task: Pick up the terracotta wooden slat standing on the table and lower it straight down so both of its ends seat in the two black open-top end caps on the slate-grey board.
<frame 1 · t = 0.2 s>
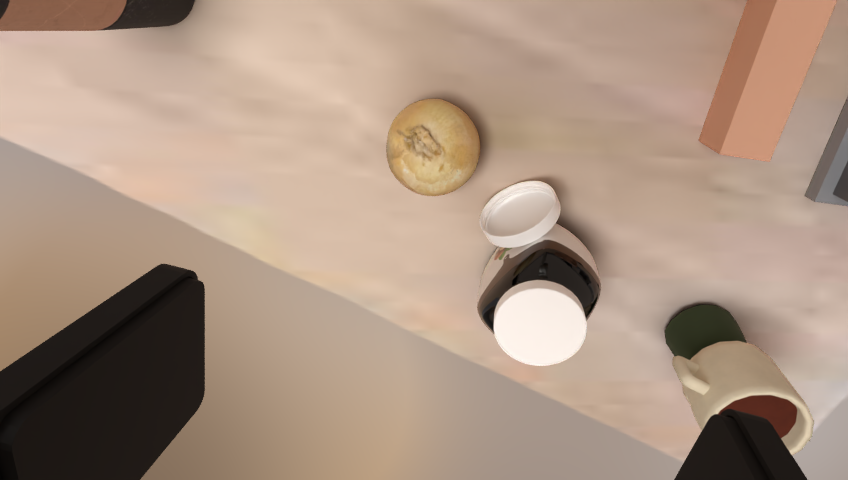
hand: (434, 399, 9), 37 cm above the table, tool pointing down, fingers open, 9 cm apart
slat: (768, 10, 37), on the table
character mug: (697, 328, 48), on the table
spread jar: (526, 241, 47), on the table
onion: (437, 140, 45), on the table
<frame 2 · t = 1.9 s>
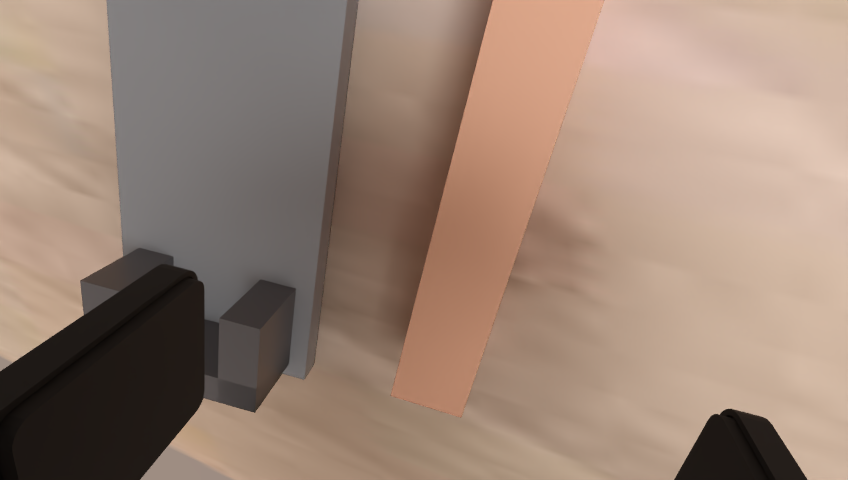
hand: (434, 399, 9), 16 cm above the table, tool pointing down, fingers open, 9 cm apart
end caps: (194, 137, 22), on the board, point 4 cm above the table
board: (235, 124, 25), on the table
slat: (489, 182, 24), on the table
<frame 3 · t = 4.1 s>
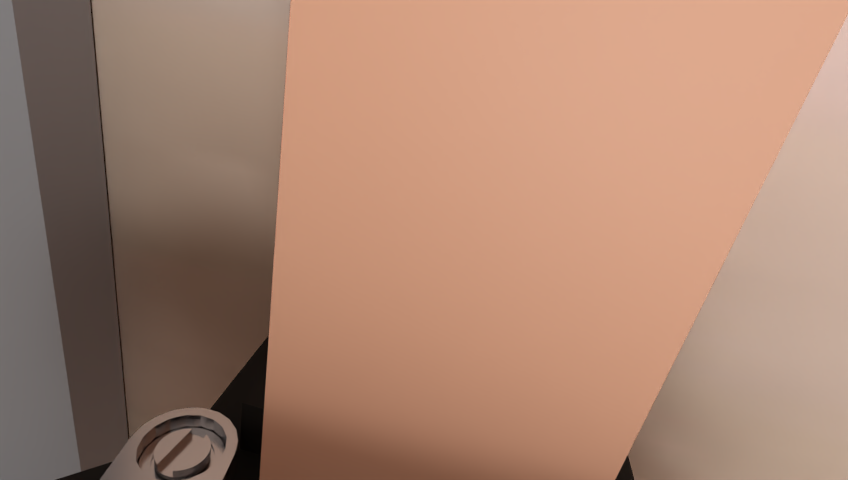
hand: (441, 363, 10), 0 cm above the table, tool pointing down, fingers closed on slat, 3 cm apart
slat: (444, 352, 11), on the table, touching gripper
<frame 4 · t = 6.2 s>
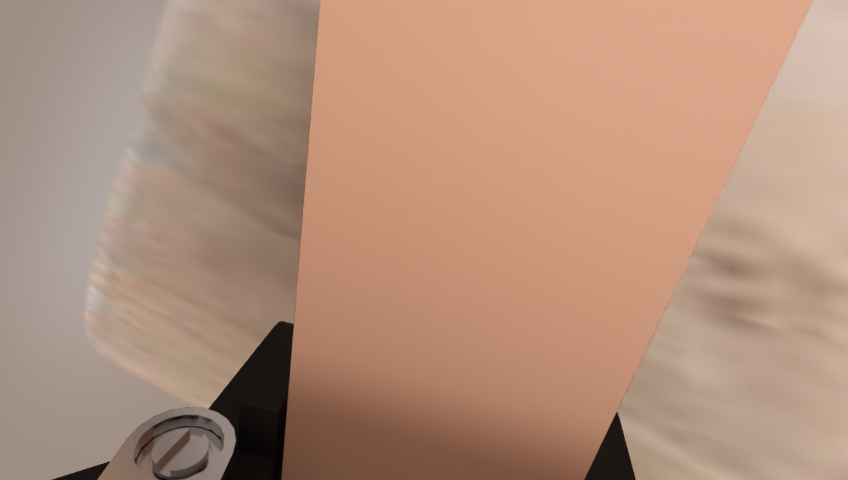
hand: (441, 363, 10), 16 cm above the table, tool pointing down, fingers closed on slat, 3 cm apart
slat: (450, 329, 11), point 15 cm above the table, touching gripper
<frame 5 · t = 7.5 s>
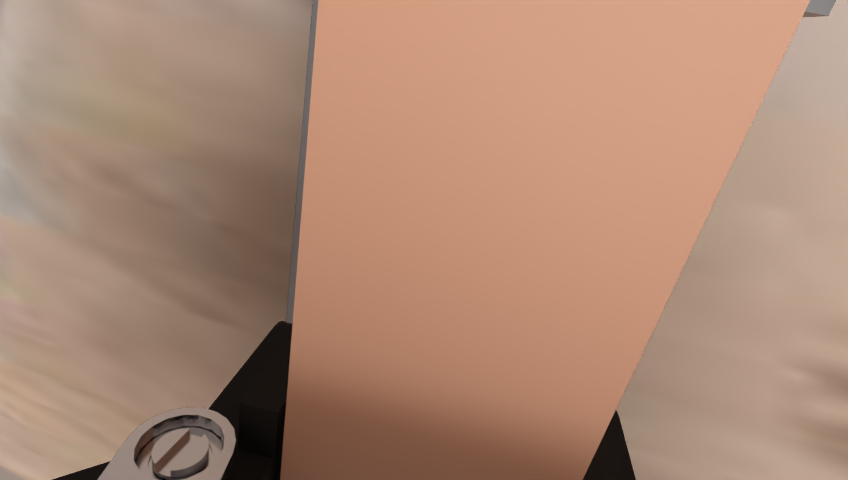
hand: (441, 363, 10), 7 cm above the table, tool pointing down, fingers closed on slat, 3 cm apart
end caps: (461, 289, 13), on the board, point 4 cm above the table
board: (472, 238, 16), on the table
slat: (449, 328, 11), point 6 cm above the table, touching gripper
when the fingers open (3 cm above the table, at t = 8.4 s): slat stays where it is, resting on board.
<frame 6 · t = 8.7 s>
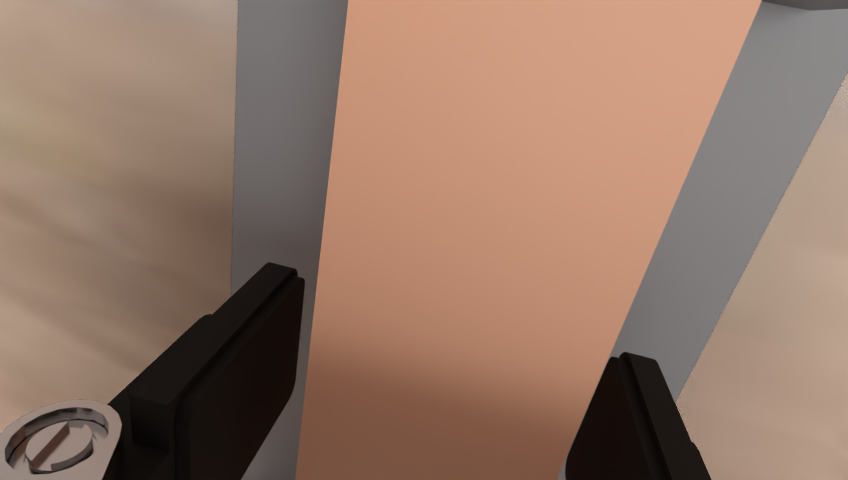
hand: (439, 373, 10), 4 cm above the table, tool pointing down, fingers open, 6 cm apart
end caps: (440, 371, 10), on the board, point 4 cm above the table
board: (458, 287, 13), on the table
slat: (452, 314, 12), point 1 cm above the table, touching board
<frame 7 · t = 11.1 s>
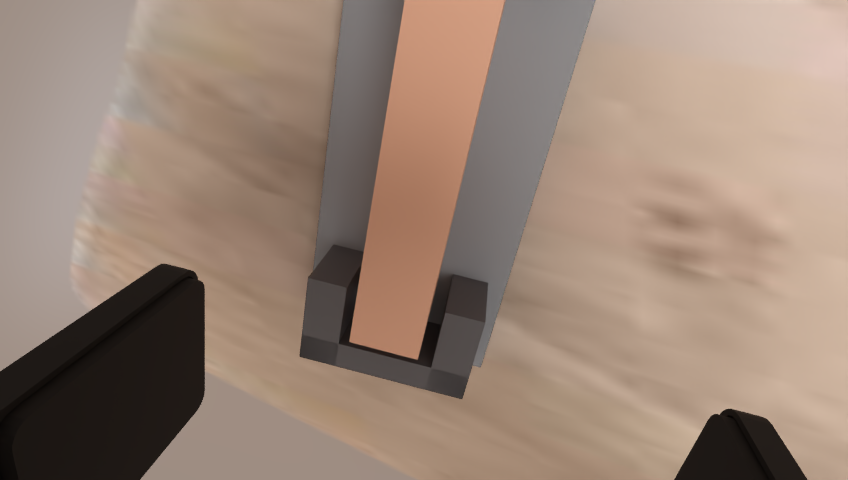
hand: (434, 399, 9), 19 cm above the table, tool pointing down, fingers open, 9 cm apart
end caps: (431, 143, 23), on the board, point 4 cm above the table
board: (440, 127, 26), on the table
slat: (437, 131, 25), point 1 cm above the table, touching board
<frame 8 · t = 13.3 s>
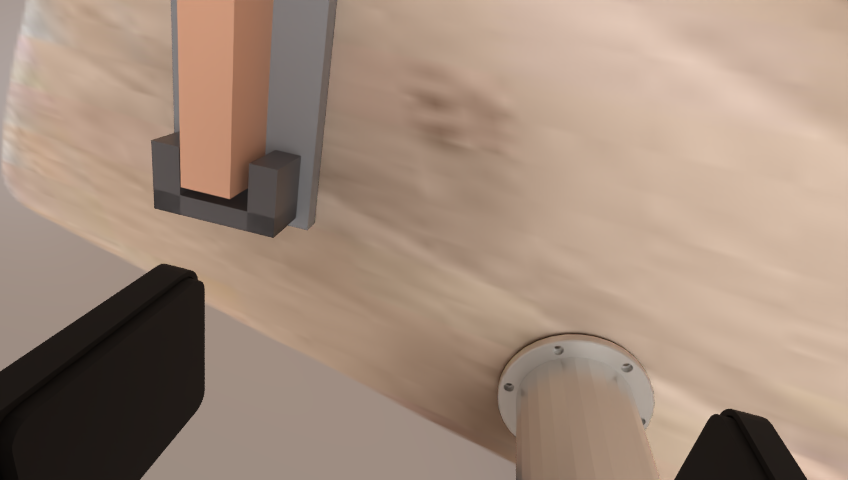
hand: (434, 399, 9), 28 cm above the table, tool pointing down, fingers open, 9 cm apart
end caps: (231, 35, 32), on the board, point 4 cm above the table
board: (257, 34, 35), on the table
slat: (247, 33, 34), point 1 cm above the table, touching board
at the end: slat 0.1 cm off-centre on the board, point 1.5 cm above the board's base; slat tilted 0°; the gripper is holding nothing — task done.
